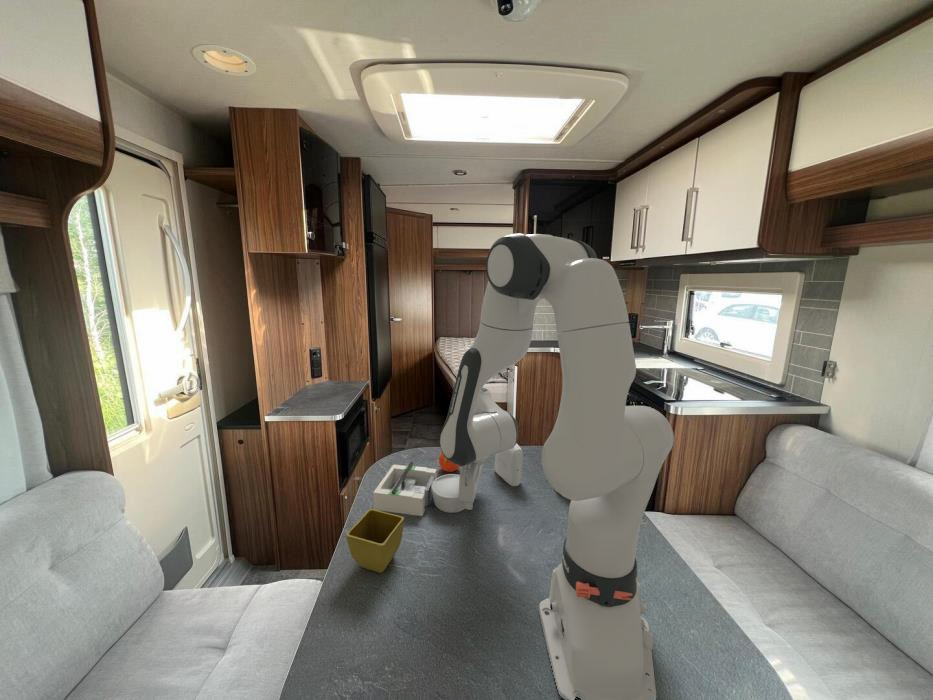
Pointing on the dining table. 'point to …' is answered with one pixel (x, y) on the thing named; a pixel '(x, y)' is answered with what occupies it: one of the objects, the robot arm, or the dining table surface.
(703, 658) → the dining table surface
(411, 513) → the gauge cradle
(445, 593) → the dining table surface
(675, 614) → the dining table surface
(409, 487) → the grey metal pieces
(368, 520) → the flower pot
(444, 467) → the red tomato
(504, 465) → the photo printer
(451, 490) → the ramekin
